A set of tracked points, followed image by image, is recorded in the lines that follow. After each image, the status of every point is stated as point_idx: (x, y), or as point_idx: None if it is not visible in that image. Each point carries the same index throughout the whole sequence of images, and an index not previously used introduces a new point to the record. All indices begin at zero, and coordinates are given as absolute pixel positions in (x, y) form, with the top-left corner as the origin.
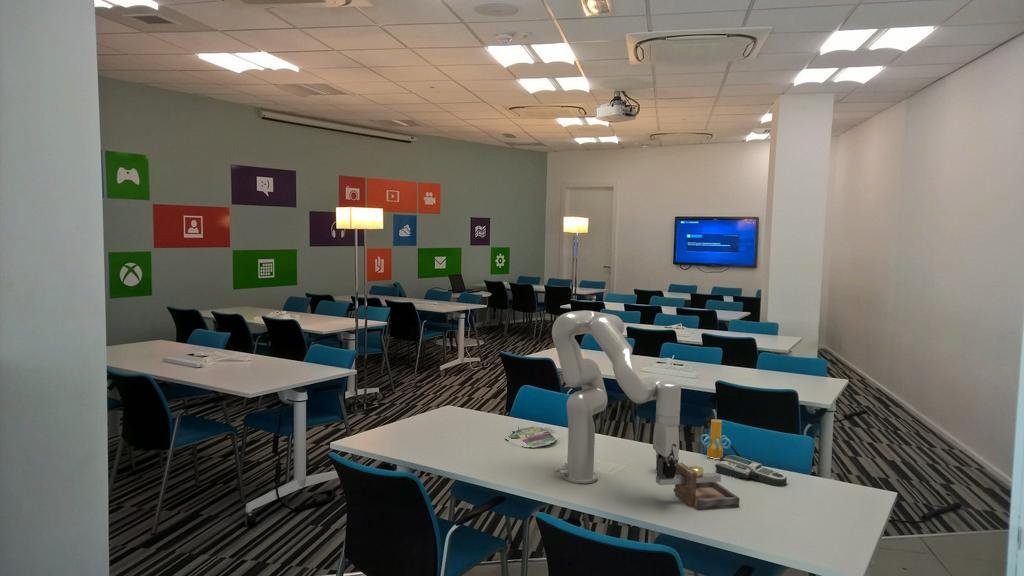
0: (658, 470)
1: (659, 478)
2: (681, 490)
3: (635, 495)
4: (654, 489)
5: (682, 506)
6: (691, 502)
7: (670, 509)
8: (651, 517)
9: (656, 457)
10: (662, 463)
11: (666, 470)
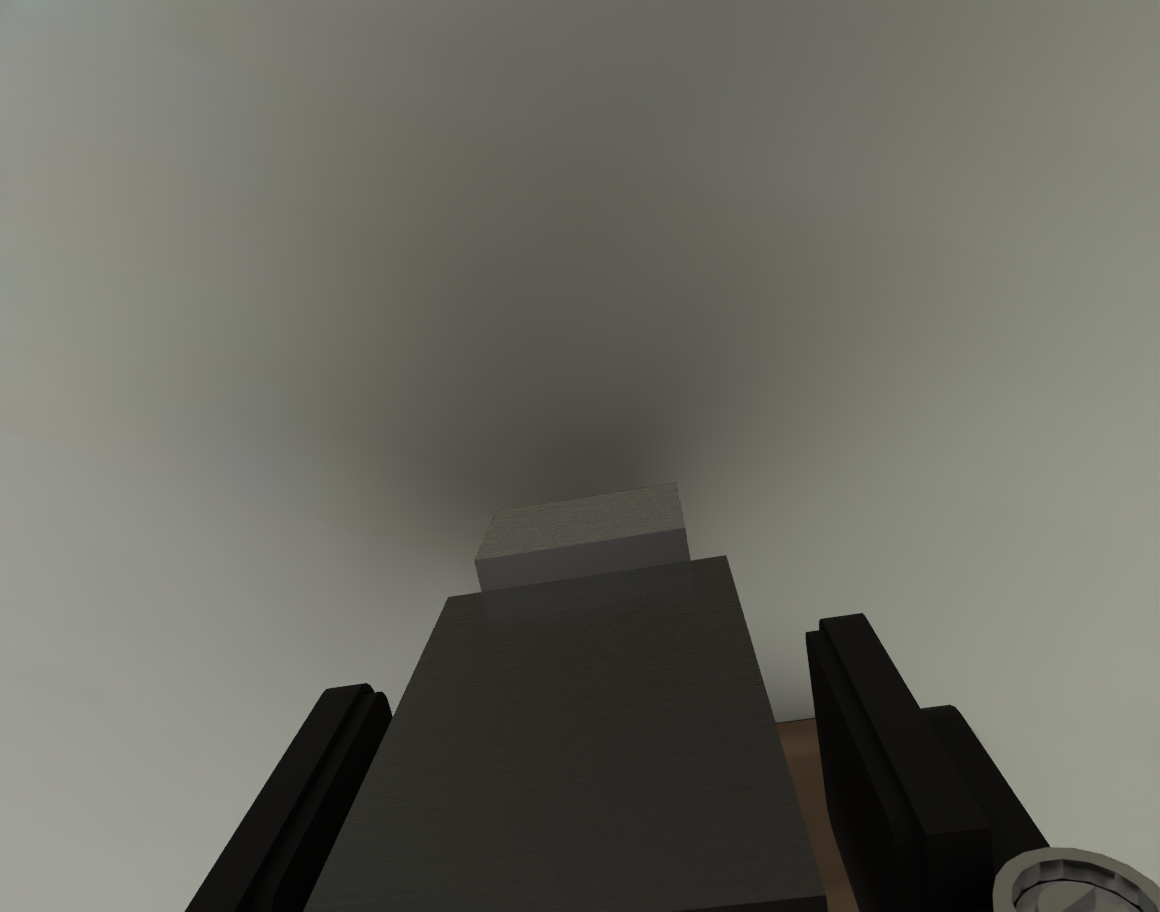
0: (653, 638)
1: (526, 561)
2: None
3: (859, 145)
4: (1068, 503)
5: None
6: None
7: (368, 518)
8: (71, 191)
9: (1084, 864)
10: (358, 875)
11: (262, 816)
